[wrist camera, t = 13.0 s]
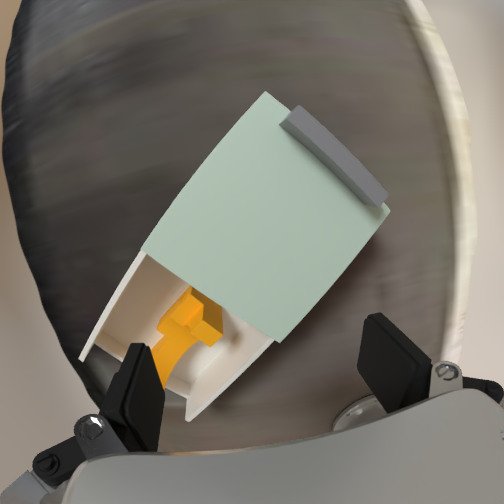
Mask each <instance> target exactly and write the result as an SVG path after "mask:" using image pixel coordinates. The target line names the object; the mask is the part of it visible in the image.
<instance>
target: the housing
mask: <svg viewBox="0 0 504 504" xmlns="http://www.w3.org/2000/svg"><path fill="white" fill-rule="evenodd" d="M189 286H190V285H189V284H188V283H186V282H185V281H184V280H182V279H181V278H179V277H178V276H177V275H175V274H174V273H172V272H171V271H170V270H168V269H167V268H165V267H164V266H163V265H161V264H160V263H158V262H157V261H156V260H154V259H153V258H152V257H150V256H149V255H148V254H146V253H145V252H144V251H142V250H141V251H140V252H139V254H138V255H137V257H136V259H135V260H134V262H133V263H132V265H131V266H130V268H129V270H128V271H127V273H126V274H125V276H124V278H123V279H122V281H121V283H120V284H119V286H118V287H117V289H116V291H115V293H114V294H113V296H112V298H111V299H110V301H109V303H108V305H107V306H106V308H105V310H104V312H103V313H102V315H101V317H100V319H99V321H98V322H97V324H96V326H95V328H94V330H93V332H92V333H91V335H90V337H89V339H88V341H87V343H86V345H85V347H84V349H83V351H82V353H81V355H80V357H79V359H80V360H81V361H82V362H83V361H84V359H85V357H86V356H87V354H88V352H89V351H90V349H91V348H92V346H93V344H94V343H95V344H96V345H98V346H99V347H100V348H102V349H103V350H105V351H106V352H108V353H109V354H111V355H112V356H114V357H115V358H117V359H118V360H120V361H121V362H123V360H124V358H125V355H126V353H127V350H128V348H129V346H130V344H131V343H145V345H146V346H149V347H150V349H152V348H153V347H154V346H155V345H156V343H157V342H158V341H159V340H160V339H161V338H162V337H163V336H164V335H163V334H162V333H160V332H159V331H157V330H156V328H157V325H158V323H159V320H160V318H161V317H162V316H163V315H164V314H165V313H166V312H167V310H168V309H169V308H170V307H171V306H172V305H173V304H174V303H175V302H176V300H177V299H178V298H179V297H180V296H181V295H182V294H183V293H184V292H185V291H186V289H187V288H188V287H189ZM222 317H223V336H222V337H221V338H220V339H219V340H218V341H217V342H216V343H215V344H214V345H213V346H212V347H209V346H208V345H206V344H205V343H203V342H202V341H200V340H199V341H198V342H196V343H194V344H193V345H192V346H191V347H190V348H189V349H188V350H187V351H186V352H185V353H184V354H183V355H182V356H181V358H180V359H179V360H178V362H177V363H176V365H175V366H174V368H173V370H172V371H171V373H170V375H169V378H168V380H167V383H166V386H165V387H166V388H167V389H169V390H171V391H173V392H175V393H177V394H179V395H181V396H183V397H185V398H187V405H186V417H185V420H186V421H188V422H190V421H191V420H192V419H193V418H195V417H196V416H197V415H198V414H199V413H200V412H201V411H202V410H204V409H205V408H206V407H207V406H208V405H209V404H210V403H211V402H212V401H213V400H214V399H216V398H217V397H218V396H219V395H220V394H221V393H222V392H223V391H224V390H225V389H226V388H227V387H228V386H229V385H230V384H231V383H232V382H234V381H235V380H236V379H237V378H238V377H239V376H240V375H241V374H242V373H243V372H244V371H245V370H246V369H247V368H248V367H249V366H250V365H251V364H252V363H253V362H254V361H255V360H256V359H257V358H258V357H259V356H260V355H261V354H262V353H263V352H264V351H265V350H266V349H267V348H268V346H269V345H270V344H271V343H272V342H273V341H274V339H272V338H271V337H269V336H267V335H266V334H264V333H262V332H261V331H259V330H258V329H256V328H254V327H253V326H251V325H250V324H248V323H246V322H245V321H243V320H242V319H240V318H239V317H237V316H236V315H234V314H233V313H231V312H229V311H228V310H226V309H225V308H223V307H222Z"/></svg>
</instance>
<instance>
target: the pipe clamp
mask: <svg viewBox="0 0 504 504" xmlns="http://www.w3.org/2000/svg"><path fill="white" fill-rule="evenodd" d="M156 330H157V331H159V332H160V333H162V334H163V335H164V336H163V337H162V338H161V339H160V340H159V341H158V342H157V343H156V345H155V346H154V347H153V348H152V349H151V353H152V356H153V359H154V362H155V365H156V368H157V371H158V374H159V377H160V380H161V383H162V386H163V389H164V390H165V386H166V383H167V380H168V378H169V375H170V373H171V371H172V370H173V368H174V366H175V365H176V363H177V362H178V360H179V359H180V358H181V356H182V355H183V354H184V353H185V352H186V351H187V350H188V349H189V348H190V347H191V346H192V345H193V344H194V343H196V342H198V341H199V340H200V341H202V342H203V343H205V344H206V345H208V346H209V347H212V346H213V345H214V344H215V343H216V342H217V341H218V340H219V339H220V338H221V337H222V336H223V317H222V306H220V305H219V304H217V303H216V302H214V301H213V300H211V299H210V298H208V297H207V296H205V295H204V294H202V293H201V292H200V291H198V290H197V289H195V288H194V287H192V286H191V285H190V286H189V287H188V288H187V289H186V291H185V292H184V293H183V294H182V295H181V296H180V297H179V298H178V299H177V300H176V302H175V303H174V304H173V305H172V306H171V307H170V308H169V309H168V310H167V312H166V313H165V314H164V315H163V316H162V317H161V318H160V320H159V323H158V325H157V328H156Z"/></svg>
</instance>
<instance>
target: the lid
mask: <svg viewBox="0 0 504 504" xmlns="http://www.w3.org/2000/svg"><path fill="white" fill-rule="evenodd" d="M388 195H389V194H388V193H387V192H386V190H385V189H384V188H383V187H382V186H381V185H380V184H379V182H378V181H377V180H376V179H375V178H374V177H373V176H372V175H371V173H370V172H369V171H368V170H367V169H366V168H365V167H364V166H363V165H362V164H361V163H360V162H359V161H358V160H357V159H356V158H355V157H354V155H353V154H352V153H351V152H350V151H349V150H348V149H347V148H346V147H345V146H344V145H343V144H342V143H341V142H340V141H339V140H337V139H336V138H335V137H334V136H333V135H332V134H331V133H330V132H329V131H328V130H327V129H326V128H325V127H324V126H323V125H322V124H320V123H319V122H318V121H317V120H316V119H315V118H314V117H313V116H312V115H310V114H309V113H308V112H307V111H306V110H305V109H303V108H302V107H301V106H300V105H298V106H297V107H295V108H294V109H293V110H292V111H290V110H288V109H287V108H286V107H285V106H283V105H282V104H281V103H280V102H279V101H277V100H276V99H275V98H273V97H272V96H271V95H270V94H268V93H267V92H266V91H265V92H264V93H263V94H262V95H261V96H260V98H259V99H258V100H257V101H256V102H255V103H254V104H253V105H252V106H251V107H250V108H249V109H248V111H247V112H246V113H245V114H244V115H243V116H242V117H241V118H240V119H239V121H238V122H237V123H236V124H235V125H234V126H233V127H232V129H231V130H230V131H229V132H228V133H227V134H226V136H225V137H224V138H223V139H222V140H221V141H220V143H219V144H218V145H217V146H216V147H215V149H214V150H213V151H212V152H211V154H210V155H209V156H208V157H207V158H206V160H205V161H204V162H203V163H202V165H201V166H200V167H199V169H198V170H197V171H196V172H195V174H194V175H193V176H192V177H191V179H190V180H189V181H188V183H187V184H186V185H185V187H184V188H183V189H182V191H181V192H180V193H179V195H178V196H177V197H176V199H175V200H174V201H173V203H172V204H171V206H170V207H169V208H168V210H167V211H166V213H165V214H164V215H163V217H162V218H161V220H160V221H159V222H158V224H157V225H156V227H155V228H154V230H153V231H152V233H151V234H150V236H149V237H148V239H147V240H146V242H145V243H144V245H143V246H142V248H141V250H142V251H144V252H145V253H146V254H148V255H149V256H150V257H152V258H153V259H154V260H156V261H157V262H158V263H160V264H161V265H163V266H164V267H165V268H167V269H168V270H170V271H171V272H172V273H174V274H175V275H177V276H178V277H179V278H181V279H182V280H184V281H185V282H186V283H188V284H189V285H191V286H192V287H194V288H195V289H197V290H198V291H200V292H201V293H202V294H204V295H205V296H207V297H208V298H210V299H211V300H213V301H214V302H216V303H217V304H219V305H220V306H222V307H223V308H225V309H226V310H228V311H229V312H231V313H233V314H234V315H236V316H237V317H239V318H240V319H242V320H243V321H245V322H246V323H248V324H250V325H251V326H253V327H254V328H256V329H258V330H259V331H261V332H262V333H264V334H266V335H267V336H269V337H271V338H272V339H274V340H275V341H277V342H279V343H280V342H281V341H282V340H283V339H284V338H285V337H286V336H287V335H288V334H289V333H290V332H291V331H292V330H293V329H294V328H295V326H296V325H297V324H298V323H299V322H300V321H301V320H302V319H303V318H304V317H305V316H306V314H307V313H308V312H309V311H310V310H311V309H312V308H313V307H314V305H315V304H316V303H317V302H318V301H319V300H320V299H321V297H322V296H323V295H324V294H325V293H326V292H327V291H328V289H329V288H330V287H331V286H332V285H333V284H334V282H335V281H336V280H337V279H338V278H339V276H340V275H341V274H342V273H343V272H344V270H345V269H346V268H347V267H348V265H349V264H350V263H351V262H352V261H353V259H354V258H355V257H356V256H357V254H358V253H359V252H360V250H361V249H362V248H363V247H364V245H365V244H366V243H367V242H368V240H369V239H370V238H371V236H372V235H373V234H374V232H375V231H376V230H377V228H378V227H379V226H380V224H381V223H382V222H383V220H384V219H385V218H386V216H387V215H388V214H389V212H390V211H391V210H390V209H389V208H388V207H387V206H386V205H385V203H384V201H385V200H386V198H387V197H388Z"/></svg>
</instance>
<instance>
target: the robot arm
mask: <svg viewBox="0 0 504 504" xmlns="http://www.w3.org/2000/svg"><path fill="white" fill-rule="evenodd" d="M357 368H358V371H359V373H360V374H361V376H362V377H363V379H364V380H365V382H366V383H367V385H368V386H369V388H370V389H371V391H372V392H373V394H374V395H371V396H367V397H365V398H362V399H360V400H358V401H356V402H355V403H353V404H352V405H350V406H349V407H347V408H346V409H345V410H344V411H343V412H342V413H341V414H340V415H339V416H338V417H337V418H336V420H335V421H334V423H333V426H332V432H329V433H325V434H321V435H316V436H312V437H308V438H303V439H298V440H293V441H288V442H283V443H277V444H271V445H264V446H257V447H249V448H240V449H230V450H217V451H196V452H157V449H158V441H159V434H160V427H161V421H162V414H163V408H164V402H165V392H164V389H163V386H162V383H161V380H160V377H159V374H158V371H157V368H156V365H155V362H154V359H153V356H152V353H151V349H150V347H149V346H146V345H145V343H131V344H130V346H129V348H128V350H127V353H126V355H125V358H124V360H123V362H122V365H121V367H120V370H119V372H117V373H115V375H114V376H113V379H112V381H111V384H110V386H109V389H108V391H107V394H106V396H105V399H104V401H103V404H102V406H101V409H100V412H99V414H98V415H97V414H89V415H86V416H83V417H82V418H80V419H79V420H78V421H77V422H76V424H75V426H74V434H75V436H73V437H71V438H69V439H67V440H65V441H63V442H61V443H59V444H57V445H55V446H53V447H51V448H49V449H47V450H45V451H42V452H41V453H39V454H38V455H37V456H36V457H35V458H34V460H33V466H32V467H33V470H32V471H31V472H29V471H28V470H27V471H26V472H25V473H24V474H22V475H21V476H20V477H19V478H18V479H17V480H16V481H14V482H13V483H12V484H11V485H10V486H9V487H7V488H6V489H5V490H4V491H3V492H2V493H1V496H0V504H504V391H503V388H502V387H501V386H500V385H499V384H498V383H496V382H494V381H489V380H483V379H476V378H469V377H463V376H462V372H461V369H460V368H459V366H457V365H456V364H454V363H452V362H448V361H441V362H438V363H436V364H434V366H433V365H432V364H431V359H430V358H429V357H428V356H427V355H426V354H425V353H424V352H423V351H422V350H420V349H419V348H418V347H417V346H416V345H415V344H414V343H413V342H412V341H411V340H410V339H409V338H408V337H407V336H406V335H405V334H404V333H403V332H402V331H400V330H399V329H398V328H397V327H396V326H395V325H394V324H393V323H392V322H391V321H390V320H389V319H388V318H386V317H385V316H384V315H383V314H382V313H380V312H379V313H375V314H370V315H368V317H367V318H366V319H365V320H364V326H363V333H362V340H361V346H360V352H359V358H358V363H357Z"/></svg>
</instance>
